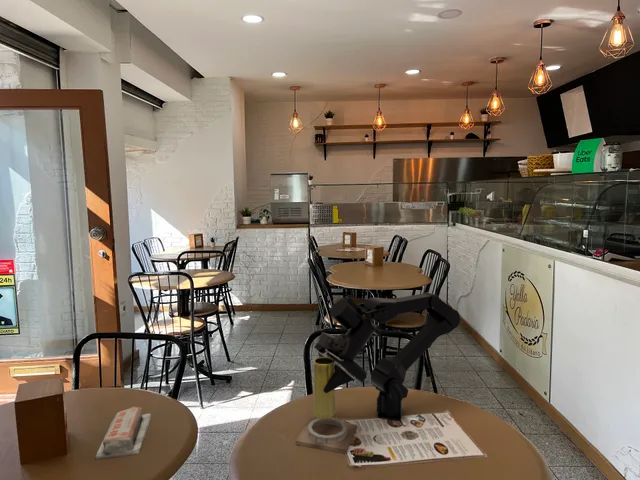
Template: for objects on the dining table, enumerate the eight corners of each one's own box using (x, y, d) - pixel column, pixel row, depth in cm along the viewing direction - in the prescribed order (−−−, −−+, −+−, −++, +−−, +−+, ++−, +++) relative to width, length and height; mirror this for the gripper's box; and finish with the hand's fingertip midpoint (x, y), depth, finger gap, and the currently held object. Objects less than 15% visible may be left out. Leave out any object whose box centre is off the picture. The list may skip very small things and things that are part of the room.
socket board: (356, 428, 117) (357, 419, 117) (346, 453, 106) (346, 443, 105) (310, 420, 121) (310, 412, 121) (295, 444, 110) (295, 435, 109)
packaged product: (139, 436, 106) (94, 442, 103) (140, 455, 106) (95, 461, 104) (150, 402, 123) (112, 406, 121) (151, 418, 124) (113, 422, 121)
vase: (339, 416, 112) (339, 363, 111) (317, 421, 110) (316, 366, 108) (330, 405, 118) (330, 354, 116) (309, 409, 116) (308, 357, 114)
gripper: (319, 312, 121) (284, 358, 118) (356, 331, 105) (315, 385, 101) (344, 335, 126) (310, 380, 122) (383, 356, 109) (345, 409, 106)
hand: (319, 387), depth 113 cm, fingers closed on vase, 5 cm apart
